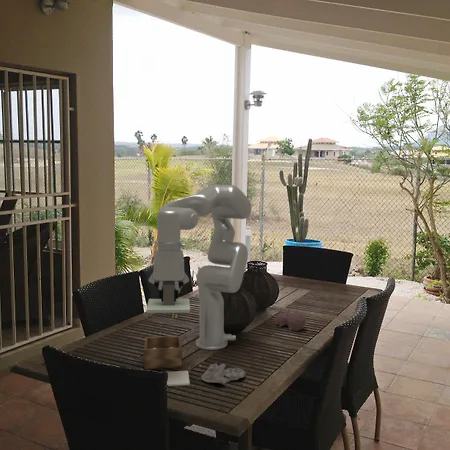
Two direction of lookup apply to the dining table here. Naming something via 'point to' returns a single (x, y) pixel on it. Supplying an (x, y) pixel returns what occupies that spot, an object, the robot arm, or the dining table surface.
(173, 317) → the toy
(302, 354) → the dining table surface
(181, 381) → the stone tile
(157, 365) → the walnut box
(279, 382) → the dining table surface
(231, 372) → the fossil
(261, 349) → the dining table surface
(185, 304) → the lid
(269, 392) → the dining table surface
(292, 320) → the toy
